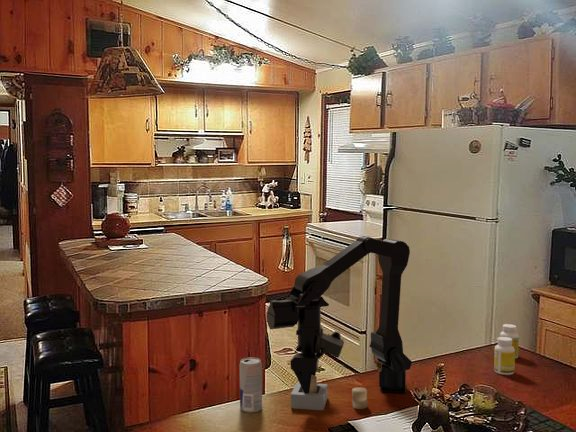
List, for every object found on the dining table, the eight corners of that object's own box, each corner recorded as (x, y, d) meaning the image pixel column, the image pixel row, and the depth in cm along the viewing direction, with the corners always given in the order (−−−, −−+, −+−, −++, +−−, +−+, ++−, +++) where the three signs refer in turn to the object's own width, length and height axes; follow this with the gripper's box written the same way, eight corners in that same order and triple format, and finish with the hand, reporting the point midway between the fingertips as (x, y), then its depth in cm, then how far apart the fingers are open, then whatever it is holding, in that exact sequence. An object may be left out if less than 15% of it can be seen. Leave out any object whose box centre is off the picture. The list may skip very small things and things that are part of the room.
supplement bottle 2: (518, 372, 161) (519, 339, 161) (506, 376, 158) (507, 342, 158) (501, 367, 166) (502, 334, 165) (490, 371, 163) (490, 338, 162)
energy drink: (250, 402, 142) (249, 355, 141) (266, 408, 139) (266, 360, 138) (235, 409, 138) (234, 361, 137) (251, 415, 134) (250, 365, 134)
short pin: (369, 404, 140) (368, 388, 140) (364, 409, 137) (364, 393, 136) (355, 402, 141) (354, 386, 141) (350, 408, 138) (349, 392, 138)
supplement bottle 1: (516, 360, 172) (516, 328, 172) (497, 357, 175) (498, 326, 174) (519, 355, 177) (520, 324, 176) (501, 352, 180) (502, 322, 179)
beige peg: (303, 399, 144) (303, 374, 143) (317, 400, 143) (317, 375, 142) (301, 405, 140) (301, 379, 140) (315, 406, 139) (315, 380, 139)
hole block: (327, 397, 145) (327, 384, 144) (323, 410, 137) (323, 396, 137) (296, 395, 146) (296, 382, 146) (290, 408, 138) (290, 394, 138)
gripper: (337, 336, 129) (337, 403, 131) (345, 316, 148) (345, 375, 149) (289, 334, 132) (290, 400, 133) (303, 315, 150) (303, 372, 151)
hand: (309, 386), depth 141 cm, fingers open, 9 cm apart
